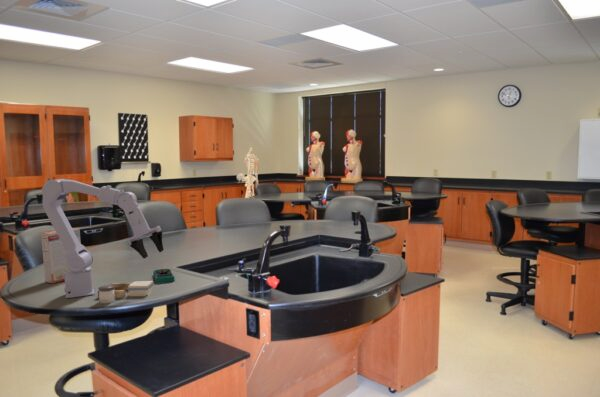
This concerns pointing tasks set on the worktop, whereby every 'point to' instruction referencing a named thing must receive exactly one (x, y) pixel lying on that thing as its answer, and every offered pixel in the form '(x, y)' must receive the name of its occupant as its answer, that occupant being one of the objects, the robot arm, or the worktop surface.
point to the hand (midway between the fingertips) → (153, 254)
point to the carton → (140, 288)
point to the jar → (106, 294)
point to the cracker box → (55, 256)
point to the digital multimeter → (163, 275)
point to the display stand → (119, 289)
